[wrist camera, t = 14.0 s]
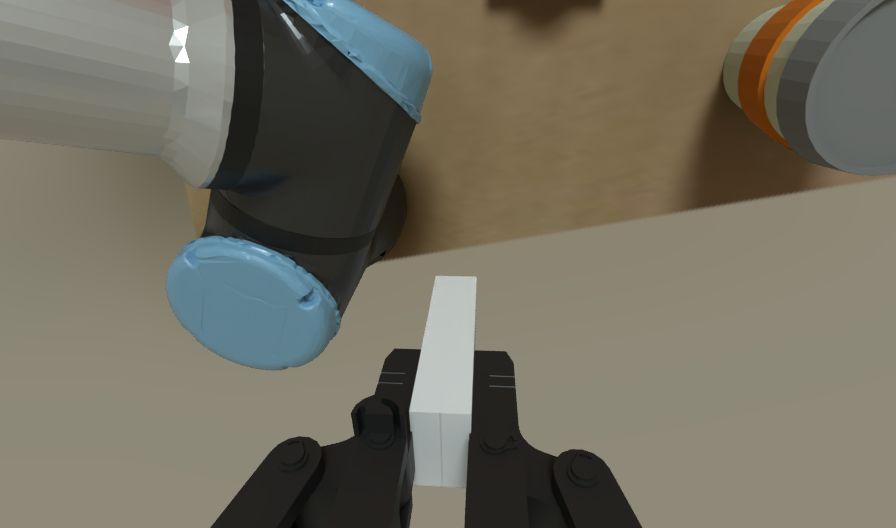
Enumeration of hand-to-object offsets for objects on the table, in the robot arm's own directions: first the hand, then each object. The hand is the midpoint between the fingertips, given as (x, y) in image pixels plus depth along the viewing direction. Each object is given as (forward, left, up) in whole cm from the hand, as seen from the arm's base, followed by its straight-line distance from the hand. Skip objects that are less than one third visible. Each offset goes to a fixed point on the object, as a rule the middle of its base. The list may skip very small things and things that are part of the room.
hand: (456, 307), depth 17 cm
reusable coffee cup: (+27, +6, -33) cm, 43 cm away
